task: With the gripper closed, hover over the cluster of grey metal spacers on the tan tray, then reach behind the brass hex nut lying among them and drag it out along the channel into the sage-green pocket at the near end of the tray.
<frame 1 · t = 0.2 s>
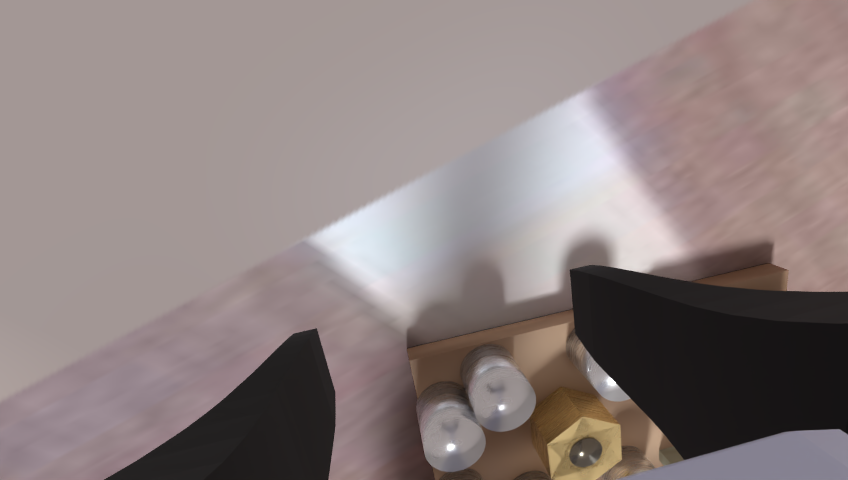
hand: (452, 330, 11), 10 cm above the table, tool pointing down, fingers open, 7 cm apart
nut: (563, 419, 24), point 1 cm above the table, touching tan tray
spacers: (548, 445, 22), point 3 cm above the table
tan tray: (600, 394, 25), on the table
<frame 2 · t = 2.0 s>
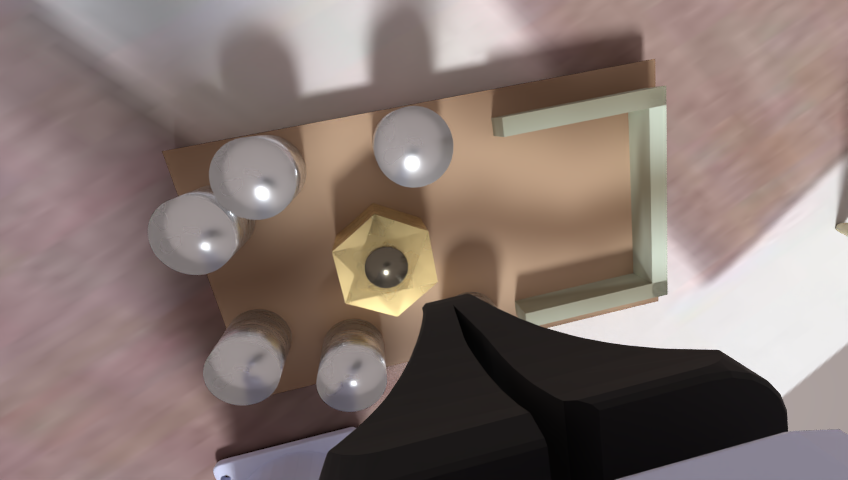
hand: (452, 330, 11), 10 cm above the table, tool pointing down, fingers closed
nut: (383, 249, 20), point 1 cm above the table, touching tan tray
ice cream cone: (835, 226, 25), on the table
spacers: (349, 267, 18), point 3 cm above the table
tan tray: (440, 230, 21), on the table
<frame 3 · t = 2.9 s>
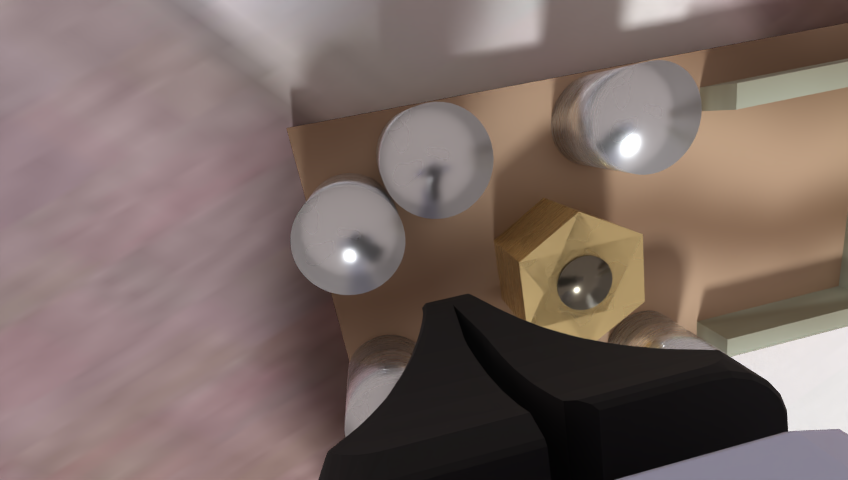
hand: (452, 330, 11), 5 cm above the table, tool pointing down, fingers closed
nut: (549, 258, 15), point 1 cm above the table, touching tan tray
spacers: (523, 282, 14), point 3 cm above the table
tan tray: (606, 233, 17), on the table
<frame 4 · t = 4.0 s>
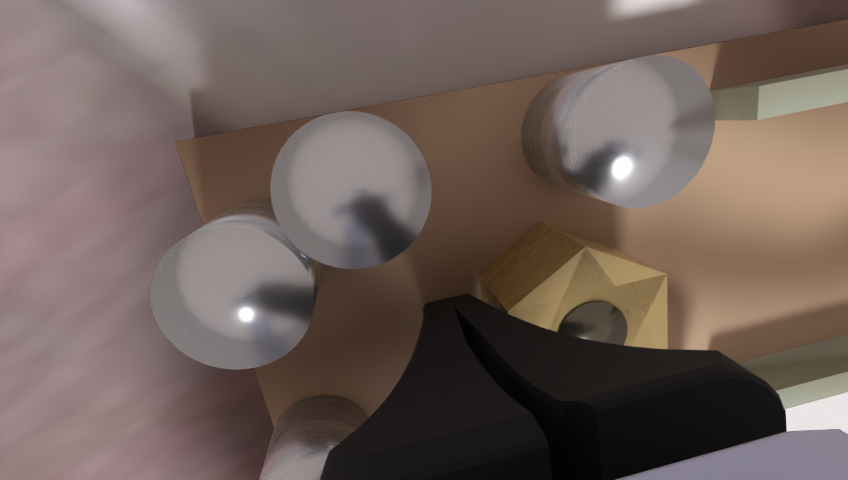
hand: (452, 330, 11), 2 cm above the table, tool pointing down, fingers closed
nut: (547, 294, 12), point 1 cm above the table, touching gripper
spacers: (484, 337, 11), point 3 cm above the table
tan tray: (594, 266, 14), on the table
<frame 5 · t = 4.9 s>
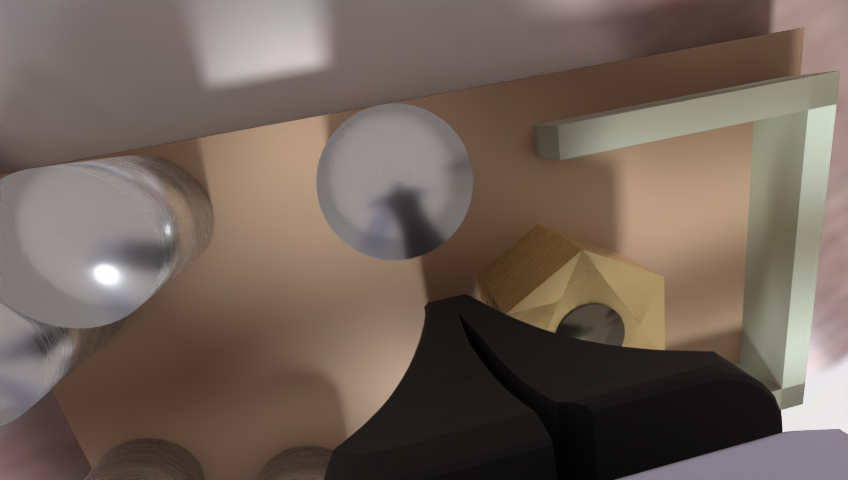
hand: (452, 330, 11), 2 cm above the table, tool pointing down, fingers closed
nut: (545, 296, 12), point 1 cm above the table, touching tan tray, gripper
spacers: (286, 385, 10), point 3 cm above the table
tan tray: (444, 300, 13), on the table
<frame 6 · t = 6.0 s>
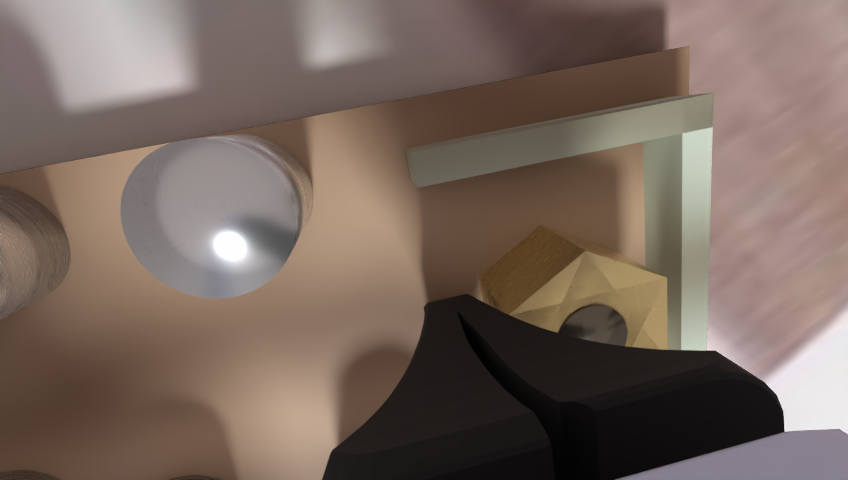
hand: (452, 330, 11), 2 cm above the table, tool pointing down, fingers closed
nut: (547, 297, 12), point 1 cm above the table, touching tan tray, gripper
spacers: (144, 419, 10), point 3 cm above the table
tan tray: (338, 324, 13), on the table
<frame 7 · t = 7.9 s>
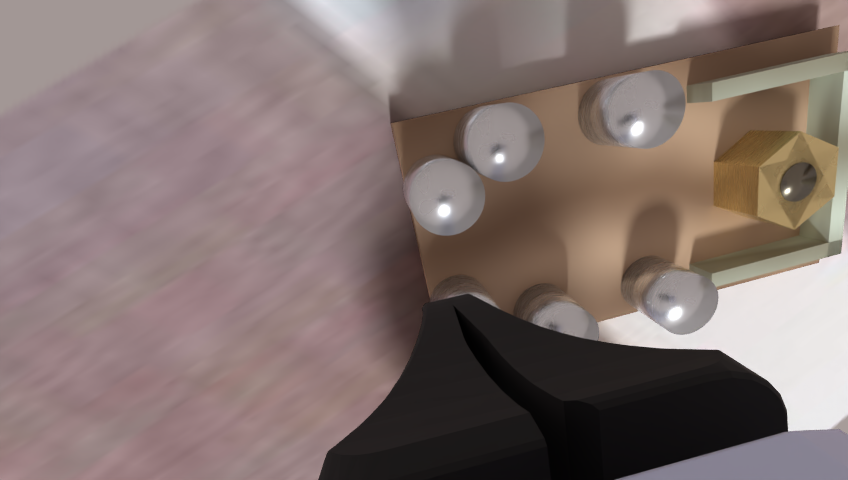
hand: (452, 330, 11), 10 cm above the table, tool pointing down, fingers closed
nut: (748, 175, 21), point 1 cm above the table, touching tan tray
spacers: (560, 230, 19), point 3 cm above the table
tan tray: (619, 197, 22), on the table
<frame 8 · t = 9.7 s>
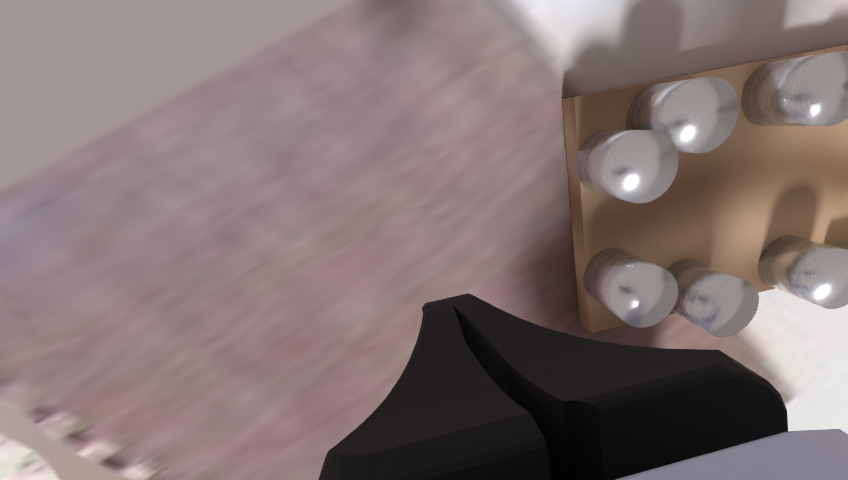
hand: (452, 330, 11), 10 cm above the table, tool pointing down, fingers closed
spacers: (724, 205, 20), point 3 cm above the table
tan tray: (759, 179, 23), on the table
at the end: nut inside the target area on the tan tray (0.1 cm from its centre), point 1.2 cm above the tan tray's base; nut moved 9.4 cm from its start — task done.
